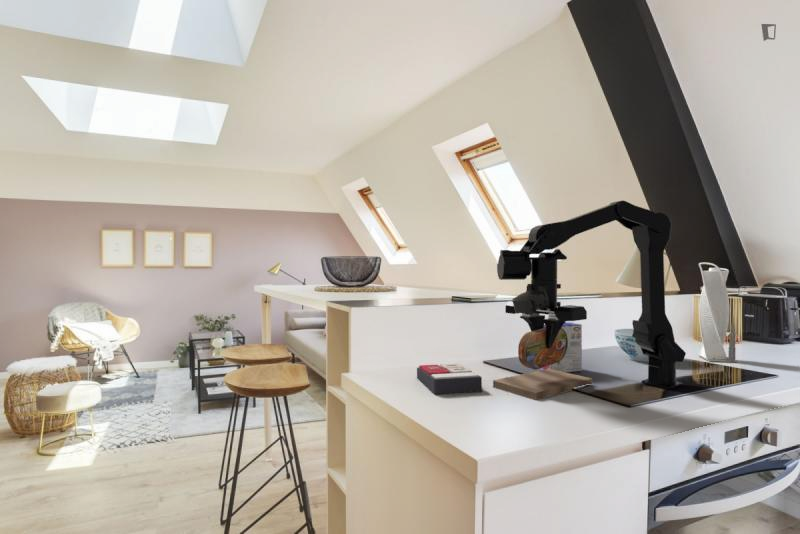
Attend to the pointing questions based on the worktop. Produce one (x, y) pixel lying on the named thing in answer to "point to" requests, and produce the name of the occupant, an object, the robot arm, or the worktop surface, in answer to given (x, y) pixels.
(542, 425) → the worktop surface
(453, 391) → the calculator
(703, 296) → the skyscraper
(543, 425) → the worktop surface
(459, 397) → the worktop surface
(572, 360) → the ink cartridge box
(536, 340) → the tin
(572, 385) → the walnut board
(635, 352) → the chinaware
